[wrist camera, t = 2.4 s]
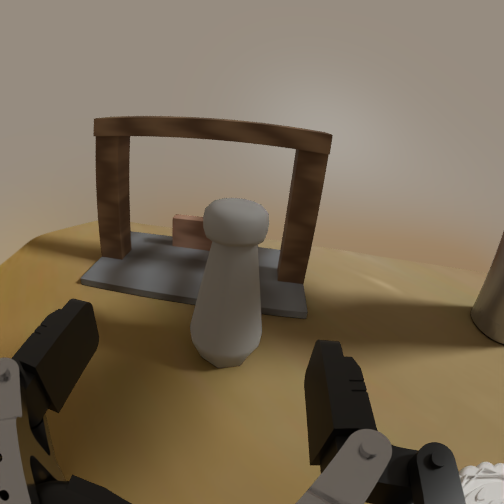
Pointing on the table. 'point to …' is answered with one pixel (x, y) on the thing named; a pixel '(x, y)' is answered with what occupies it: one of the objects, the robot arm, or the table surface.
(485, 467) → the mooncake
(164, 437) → the table surface
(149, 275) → the gateway
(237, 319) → the salt shaker
